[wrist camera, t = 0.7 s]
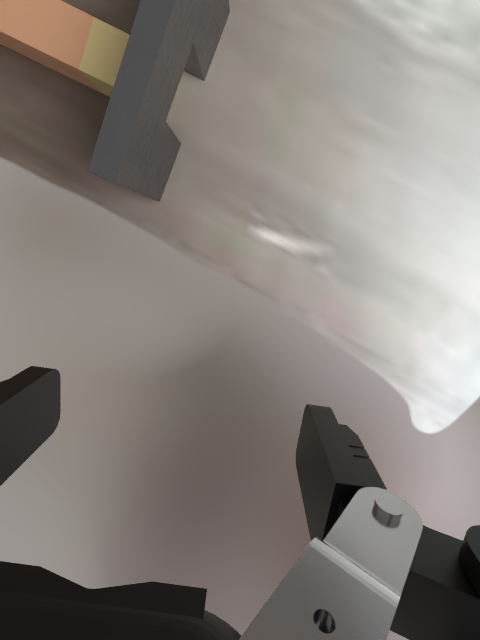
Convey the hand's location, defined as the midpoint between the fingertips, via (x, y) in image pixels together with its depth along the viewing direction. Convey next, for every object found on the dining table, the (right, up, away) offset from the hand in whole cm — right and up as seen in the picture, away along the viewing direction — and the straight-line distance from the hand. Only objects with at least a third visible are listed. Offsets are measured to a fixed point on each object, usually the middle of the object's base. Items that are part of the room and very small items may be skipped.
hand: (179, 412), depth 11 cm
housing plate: (-4, +24, +22) cm, 32 cm away
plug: (-16, +29, +21) cm, 39 cm away
